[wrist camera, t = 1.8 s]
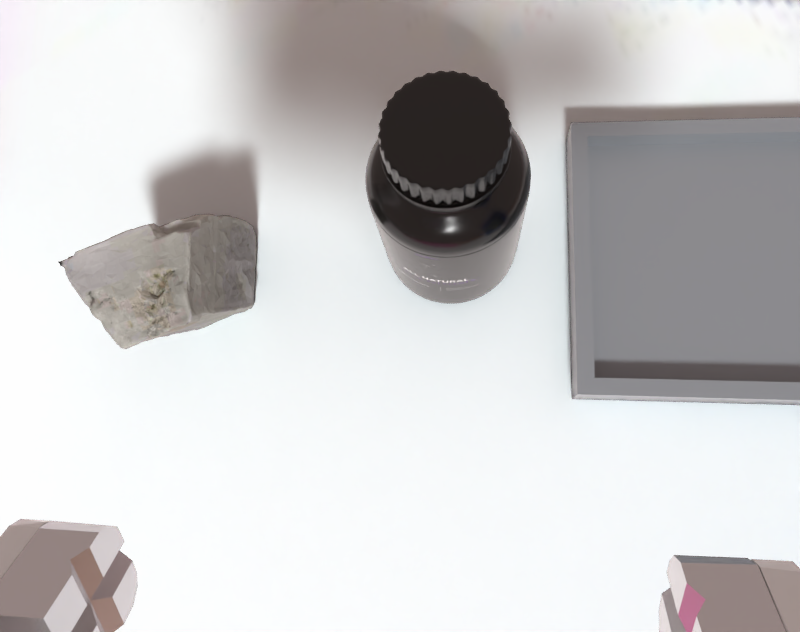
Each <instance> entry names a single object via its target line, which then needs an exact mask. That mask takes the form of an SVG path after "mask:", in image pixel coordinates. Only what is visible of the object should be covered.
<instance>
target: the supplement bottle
mask: <svg viewBox="0 0 800 632" xmlns="http://www.w3.org/2000/svg"><path fill="white" fill-rule="evenodd" d="M379 129H380V132H379V135H378V139H377V141H376V143H375V145H374V147H373V149H372V151H371V153H370V156H369V159H368V164H367V168H366V191H367V196H368V201H369V204H370V208H371V211H372V214H373V216H374V219H375V222H376V225H377V228H378V230H379V233H380V236H381V239H382V242H383V244H384V247H385V250H386V253H387V256H388V258H389V261H390V263H391V265H392V268H393V269H394V271H395V273H396V275H397V276H398V277H399V279H400V280H401V281H402V282H403V284H404V285H406V286H407V287H408V288H409V289H410V290H411V291H413V292H414V293H416V294H417V295H419V296H421V297H423V298H425V299H428V300H431V301H435V302H440V303H462V302H467V301H471V300H474V299H476V298H479V297H481V296H483V295H485V294H486V293H488V292H489V291H491V290H492V289H493V288H494V287H496V286H497V285H498V284H499V283H500V282H501V281H502V279H503V278H504V277H505V275H506V274H507V272H508V271H509V269H510V267H511V265H512V262H513V260H514V257H515V253H516V250H517V246H518V241H519V237H520V232H521V228H522V223H523V219H524V214H525V210H526V205H527V201H528V196H529V190H530V180H531V171H530V163H529V158H528V154H527V151H526V149H525V146H524V144H523V142H522V140H521V139H520V137H519V135H518V134H517V132H516V131H515V130H514V129H513V128H512V124H511V122H510V120H509V111H508V110H507V109H506V108H505V103H504V100H502V99H501V98H500V97H499V96H498V93H497V91H495V90H493V89H491V87H490V86H489V84H488V83H486V82H482V81H481V80H480V79H479V78H478V77H472V76H469V75H468V74H466V73H457V72H455V71H450V72H444V71H438V72H436V73H427V74H425V75H424V76H423V77H417V78H415V79H414V80H413V81H412V82H410V83H407V84H405V85H404V86H403V87H402V89H401V90H399V91H397V92H395V94H394V97H393V98H392V99H391V100H389V101H388V103H387V108H386V109H385V110H384V111H383V112H382V119H381V121H380V123H379Z"/></svg>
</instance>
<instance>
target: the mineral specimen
mask: <svg viewBox="0 0 800 632" xmlns="http://www.w3.org/2000/svg"><path fill="white" fill-rule="evenodd" d="M256 252H257V246H256V234H255V232H254V229H253V226H252V225H251V224H249V223H247V222H246V221H244V220H242V219H239V218H236V217H231V216H228V215H222V216H216V215H212V214H202V215H194V216H191V217H188V218H185V219H178V220H175V221H173V222H171V223H169V224H165V225H162V226H160V227H158V226H157V225H156V224H148V225H144V226H141V227H138V228H135V229H130V230H127V231H125V232H123V233H120V234H118V235H115V236H113V237H111V238H109V239H107V240H105V241H102V242H100V243H97V244H95V245H92V246H90V247H87V248H85V249H82V250H79V251H77V252H76V253H75V254H74V256H71V257H69V258H68V259H66V260H63V261H61V262H59V263H60V265H61V266H63V267H64V268H65V271H66V275H67V277H68V279H69V281H70V282H71V284H72V286H73V287H74V288H75V290H76V291H77V293H78V294H79V296H80V297H81V299H82V300H83V301H84V303H85V304H86V305H87V306H89V308H90V310H91V313H92V314H93V315H94V316H95V317H96V318H97V319H99V320H100V321H101V322H102V324H103V326H104V328H105V330H106V331H107V332H108V333H109V334H110V336H111V337H112V338H113V339H114V341H115V342H116V343H117V344H118V345H119V346H120V347H121V348H124V349H127V348H130V347H132V346H134V345H137V344H139V343H141V342H144V341H148V340H151V339H154V338H158V337H163V336H169V335H171V334H175V333H182V332H187V331H191V330H198V329H201V328H204V327H206V326H209V325H211V324H213V323H215V322H217V321H219V320H221V319H224V318H227V317H229V316H231V315H234V314H236V313H241V312H245V311H246V310H248V309H250V308H252V307H253V305H254V287H255V278H256V276H255V266H256Z"/></svg>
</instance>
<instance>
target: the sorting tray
mask: <svg viewBox="0 0 800 632" xmlns="http://www.w3.org/2000/svg"><path fill="white" fill-rule="evenodd" d="M566 145H567V190H568V235H569V280H570V325H571V371H572V399H594V400H632V401H669V402H706V403H744V404H781V405H800V117H784V118H743V119H701V120H660V121H619V122H578V123H571V125H570V128H569V132H568V136H567V140H566Z"/></svg>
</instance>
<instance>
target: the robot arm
mask: <svg viewBox="0 0 800 632" xmlns="http://www.w3.org/2000/svg"><path fill="white" fill-rule="evenodd" d="M123 543H124V539H123V537H122V535H121V533H120V531H119V529H118V527H116V526H106V525H94V524H82V523H70V522H58V521H44V520H29V519H20V520H18V521H17V522H15V523H13V524H12V525H10V526H9V527H8V528H7V529H6V530H5V532H4V533H3V534H2V535H1V537H0V632H114V631H116V630H117V629H118V628H119V627H121V626H122V625H123V624H124V623H125V621H126V619H127V617H128V615H129V613H130V611H131V609H132V607H133V604H134V599H135V595H136V591H137V586H138V585H137V572H136V569H135V566H134V564H133V561H132V560H131V559H129V558H128V557H127V556H126V555H124V554H123V553H122V552H121V551H119V550H120V548H121V546H122V545H123ZM667 576H668V579H669V583H670V587H671V588H669V589H668V590H666V591H665V592H663V593H662V596H661V601H660V607H659V632H800V568H799V567H798V566H797V565H796V564H795V563H794V562H792V561H776V560H757V559H752V560H750V559H748V558H731V557H706V556H682V555H674V556H673V557H672V558H671V559H670V561H669V565H668V569H667Z"/></svg>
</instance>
